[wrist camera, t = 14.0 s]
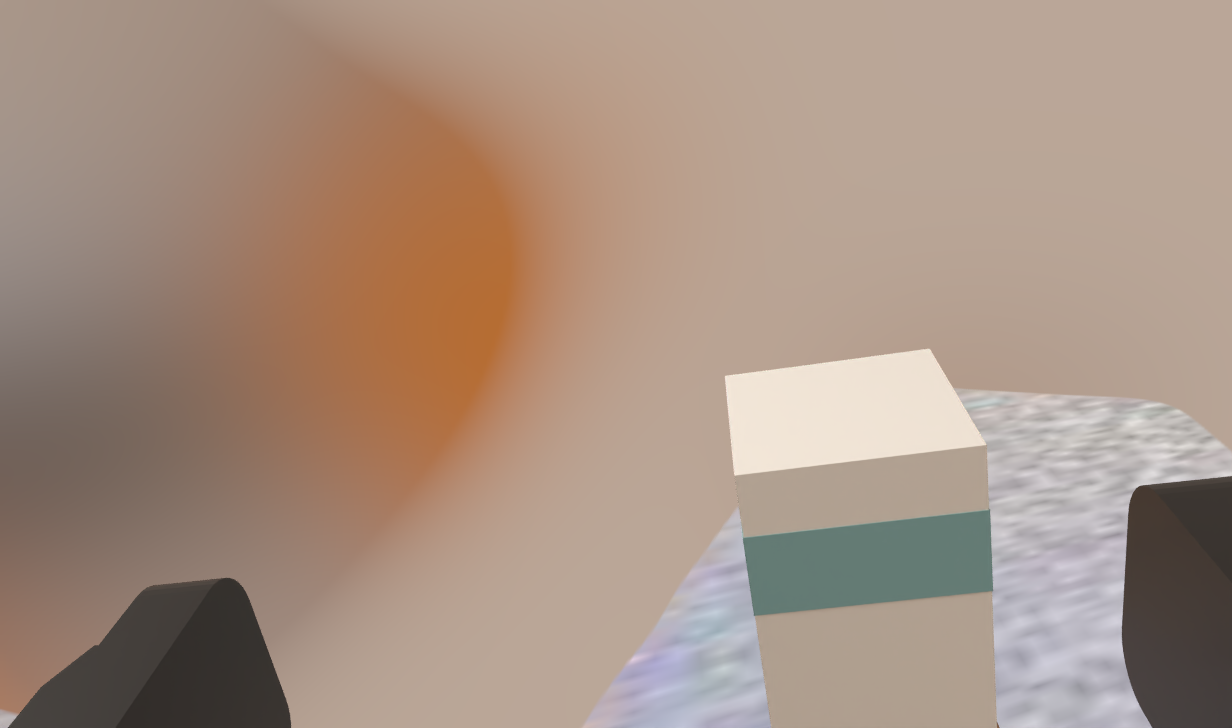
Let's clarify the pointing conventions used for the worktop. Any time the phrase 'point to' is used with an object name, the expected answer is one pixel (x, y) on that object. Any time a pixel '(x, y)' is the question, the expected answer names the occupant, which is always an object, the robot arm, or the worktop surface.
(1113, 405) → the worktop surface
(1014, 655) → the worktop surface
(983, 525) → the milk carton
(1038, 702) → the worktop surface
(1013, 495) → the worktop surface
